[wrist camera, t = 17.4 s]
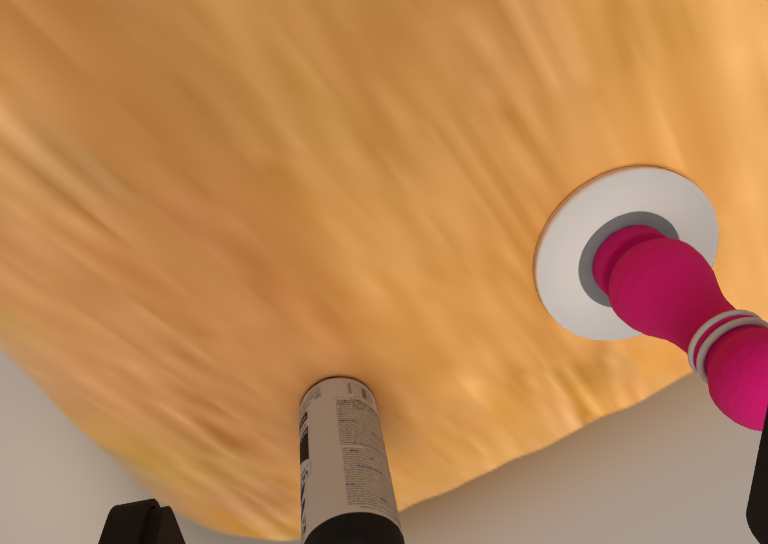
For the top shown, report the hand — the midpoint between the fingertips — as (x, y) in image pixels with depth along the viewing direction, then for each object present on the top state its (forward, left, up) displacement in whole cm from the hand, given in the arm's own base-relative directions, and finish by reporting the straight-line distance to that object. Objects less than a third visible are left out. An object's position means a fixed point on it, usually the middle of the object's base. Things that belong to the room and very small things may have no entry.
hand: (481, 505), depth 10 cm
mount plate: (+16, +21, -36) cm, 45 cm away
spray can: (+26, -4, -36) cm, 45 cm away
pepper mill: (+16, +21, -35) cm, 44 cm away
